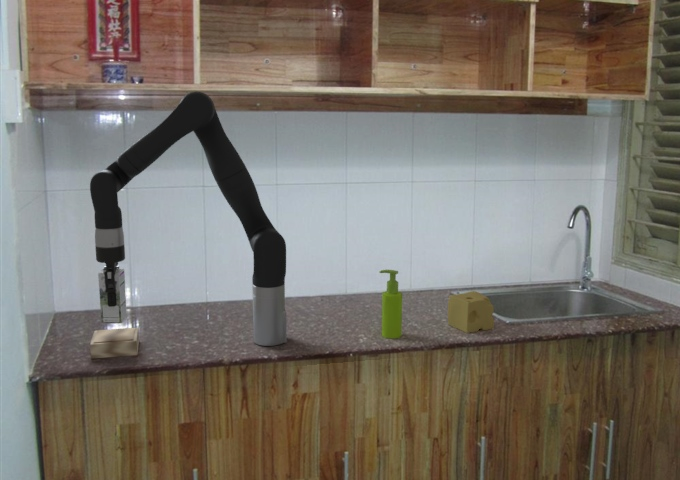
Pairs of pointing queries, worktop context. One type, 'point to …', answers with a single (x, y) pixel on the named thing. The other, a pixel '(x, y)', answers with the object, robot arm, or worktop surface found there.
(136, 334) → the plinth
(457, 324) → the cheese
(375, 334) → the worktop surface
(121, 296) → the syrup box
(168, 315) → the worktop surface
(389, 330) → the soap dispenser
